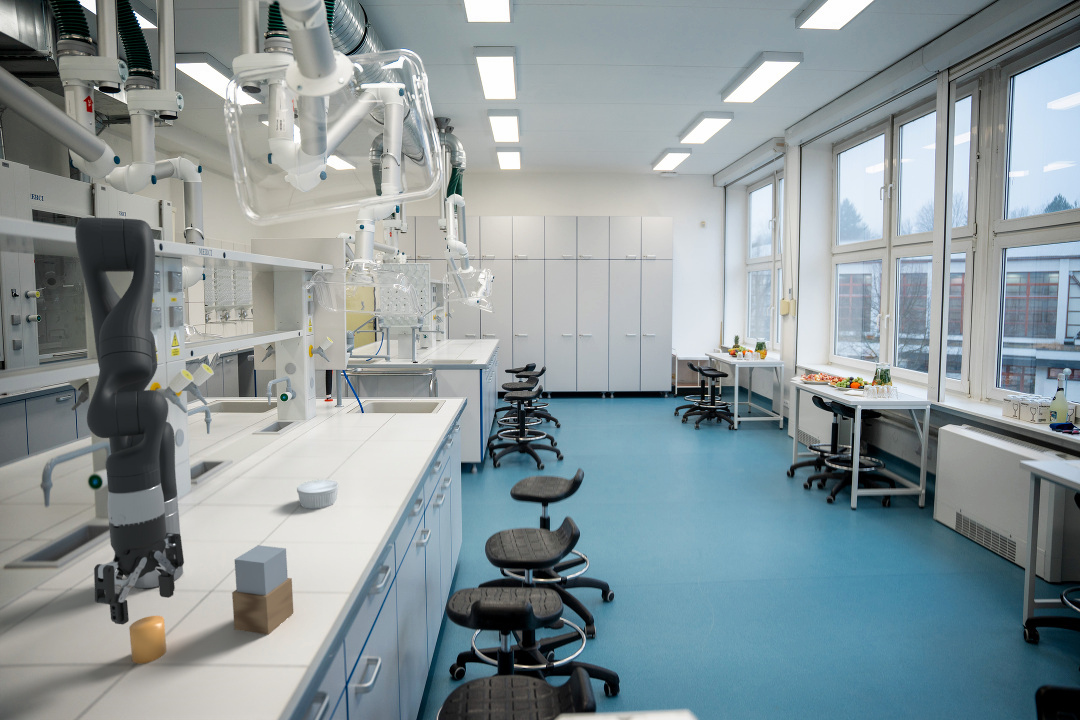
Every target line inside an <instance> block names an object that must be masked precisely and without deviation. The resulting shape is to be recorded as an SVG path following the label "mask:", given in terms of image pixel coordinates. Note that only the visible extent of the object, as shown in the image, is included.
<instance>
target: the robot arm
mask: <svg viewBox="0 0 1080 720" xmlns="http://www.w3.org/2000/svg"><path fill="white" fill-rule="evenodd" d="M74 235H75V243H76V249H77V254H78V255H77V256H78V260H79V263H80V267H81V272H82V275H83V279H84V283H85V287H86V293H87V296H88V300H89V305H90V311H91V319H92V327H93V328H92V329H93V335H94V344H95V350H96V351H95V352H96V357H97V365H98V369H99V373H98V378H97V383H96V386H95V389H94V392H93V394H92V397H91V399H90V402H89V405H88V409H87V414H86V424H87V427H88V429H89V431H91V433H92V434H93V435H95V436H96V437H98V438H100V439H108V441H109V449H110V455H108V456H107V458H106V460H105V469H106V479H107V480H106V481H107V491H108V492H107V494H108V495H107V514H108V515H107V516H108V517H107V518H108V529H109V540H110V546H111V548H112V549H113V552H114V556H113V559H112V561H110V562H107V563H104V564H102V563H98V564H96V565H95V566H94V569H93V573H94V576H93V580H94V602H95V603H97V604H105V605H109V613H110V620H111V622H113V623H115V624H116V625H123V626H124V625H125V624H126V623H128V622H129V621H130V620H129V619H130V618H129V608H128V607H129V605H128V600H127V596H128V594H129V593H130V590H131V589H132V588H137V589H152V588H157V587H158V589H159V590H158V591H159V595H160V597H162V598H171V597H172V596H174V592H175V589H176V588H175V581H176V580H178V579H179V578H180V577H181V576H182V575H183V573H184V568H183V566H184V563H185V560H184V551H183V543H182V536H181V527H180V525H181V524H180V513H179V512H180V511H179V502H178V501H179V499H178V489H177V479H176V478H177V476H176V442H175V441H176V439H175V438H176V437H175V432H174V428H173V426H172V424H171V423H170V422H168V421H167V419H168V415H169V404H168V401H167V399H166V397H165V396H164V394H162V393H161V392H160V391H158V390H154V389H148V390H147V389H146V388H147V387H148V386H149V385H150V382H152V381H153V378H154V376H155V374H156V373H157V370H158V356H157V347H156V346H157V345H156V340H155V337H154V333H153V332H152V330H151V317H152V308H153V297H154V285H155V271H156V247H155V239H154V233H153V231H152V228H151V226H150V224H149V223H148V222H146V221H145V220H142V219H137V218H121V217H119V218H116V217H90V216H89V217H82V218H80V219H79V220H78V221H77V222H76V224H75V232H74ZM108 272H110V273H112V272H113V273H114V272H115V273H116V272H118V273H119V272H121V273H122V272H124V273H125V272H126V273H128V272H131V273H132V274H133V275H132V279H131V281H130V284H129V286H128V288H127V290H125V292H124V294H122V296H121V297H120V295H119V294H118V293H117V291H116V290H115V288H114V286H113V285H112V283H111V281H110V279H109V277H108V274H107V273H108ZM124 577H125V578H126V579H125V580H124V579H123V578H124Z"/></svg>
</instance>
